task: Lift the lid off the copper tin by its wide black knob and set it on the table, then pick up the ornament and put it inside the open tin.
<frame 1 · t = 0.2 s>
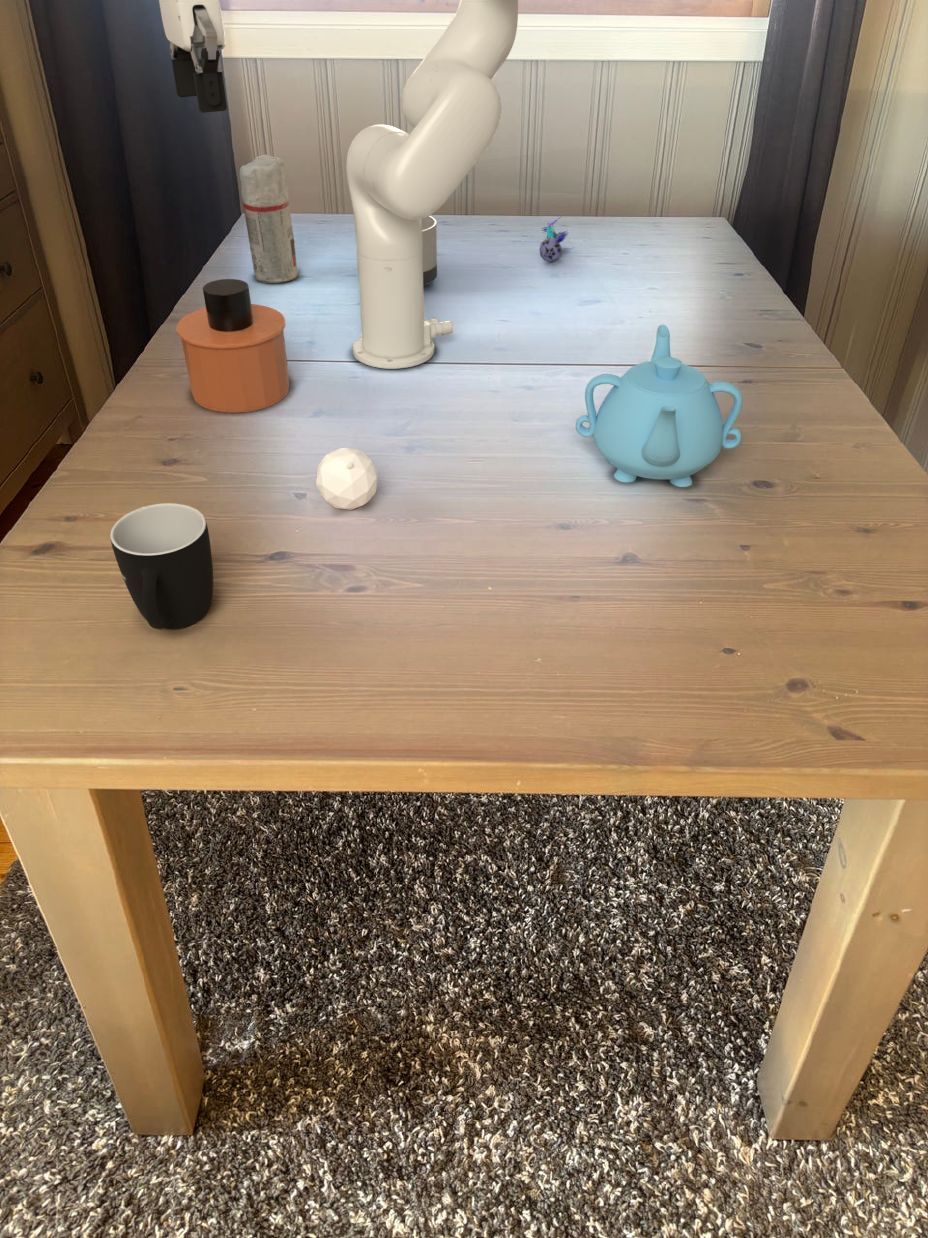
hand: (201, 103, 113), 36 cm above the table, tool pointing down, fingers open, 9 cm apart
spray can: (276, 277, 171), on the table
planter: (401, 283, 169), on the table
ornament: (349, 505, 112), on the table
teapot: (652, 465, 120), on the table
tin: (241, 390, 135), on the table
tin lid: (231, 326, 129), point 9 cm above the table, touching tin
figurine: (556, 256, 181), on the table
mug: (175, 621, 95), on the table
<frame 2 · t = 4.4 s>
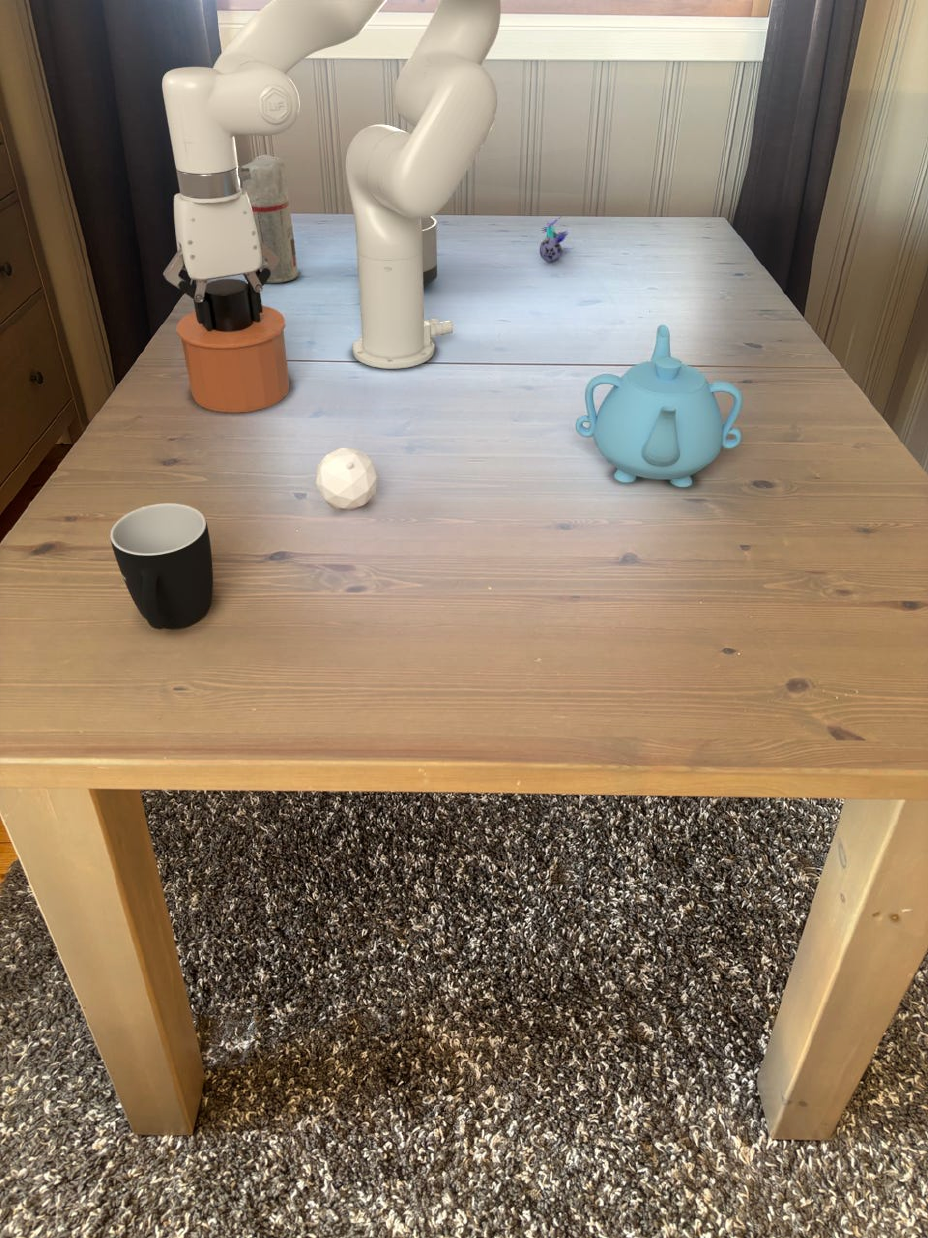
hand: (231, 321, 128), 10 cm above the table, tool pointing down, fingers closed on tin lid, 6 cm apart
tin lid: (231, 326, 129), point 9 cm above the table, touching gripper, tin
everything else where it was.
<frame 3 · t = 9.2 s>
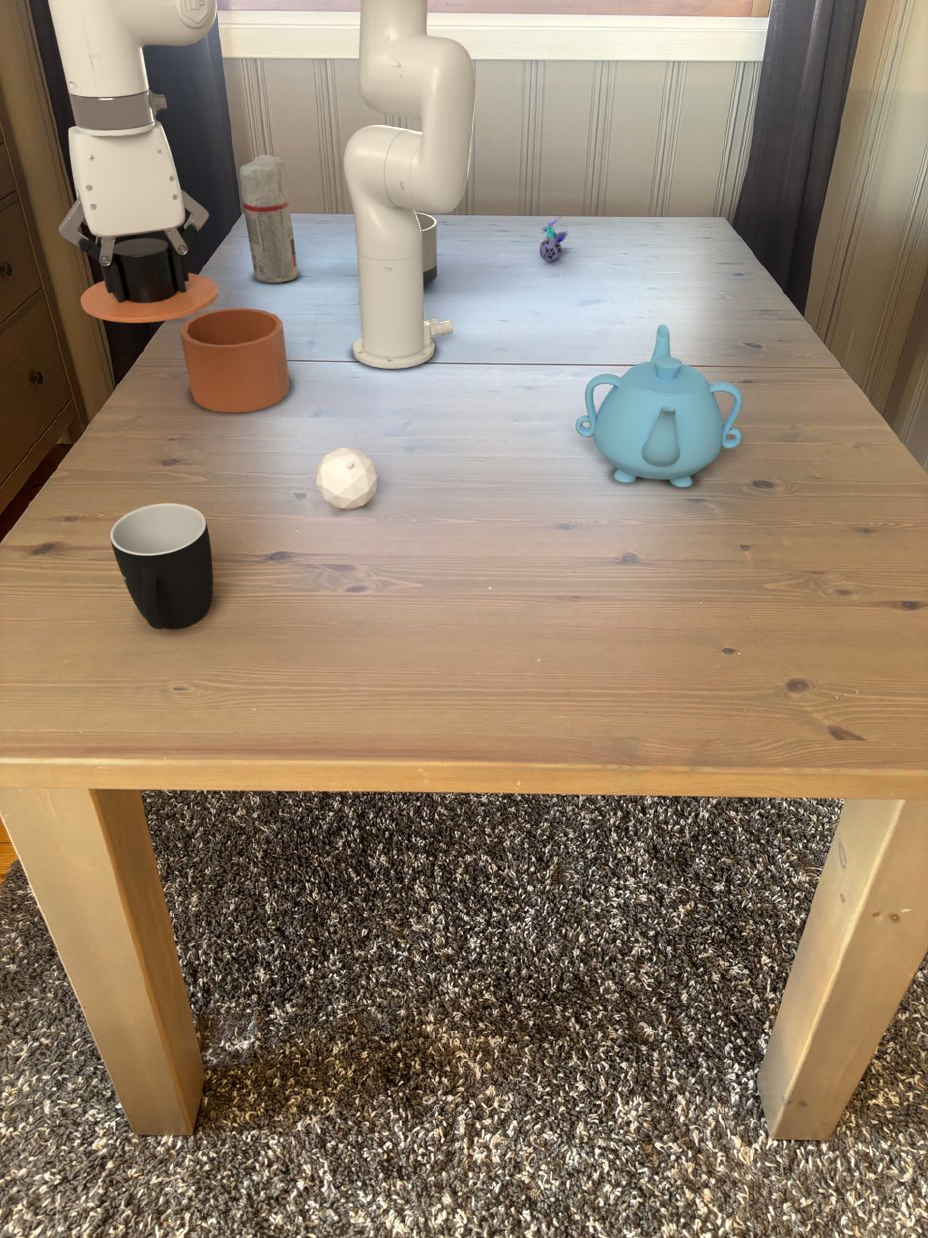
hand: (149, 291, 104), 22 cm above the table, tool pointing down, fingers closed on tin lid, 6 cm apart
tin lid: (150, 297, 104), point 22 cm above the table, touching gripper
everything else where it was.
when the fingers open (1 cm above the table, at t = 14.2 s): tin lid stays where it is, point 1 cm above the table.
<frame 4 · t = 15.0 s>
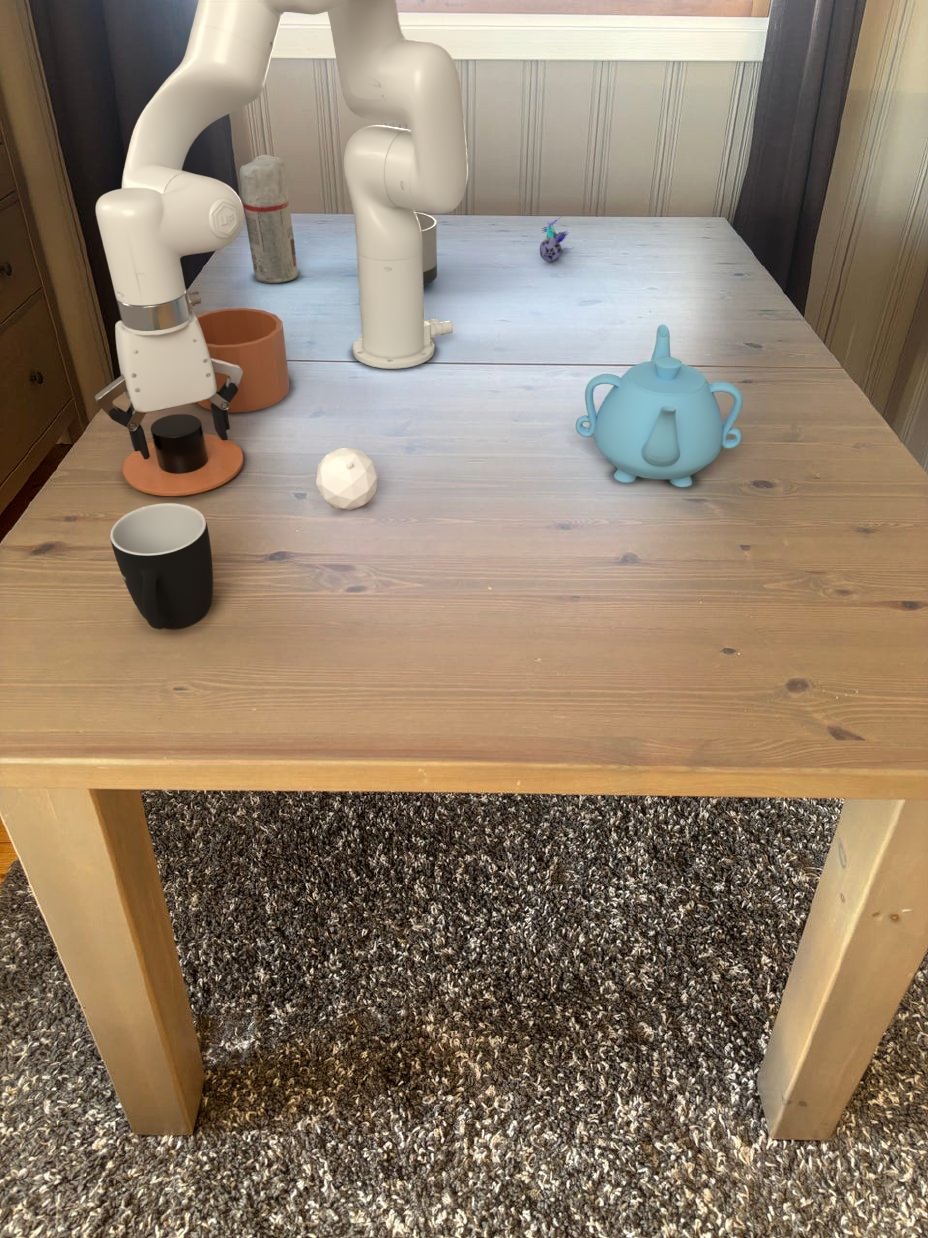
hand: (183, 444, 116), 3 cm above the table, tool pointing down, fingers open, 9 cm apart
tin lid: (184, 465, 117), point 1 cm above the table
everything else where it was.
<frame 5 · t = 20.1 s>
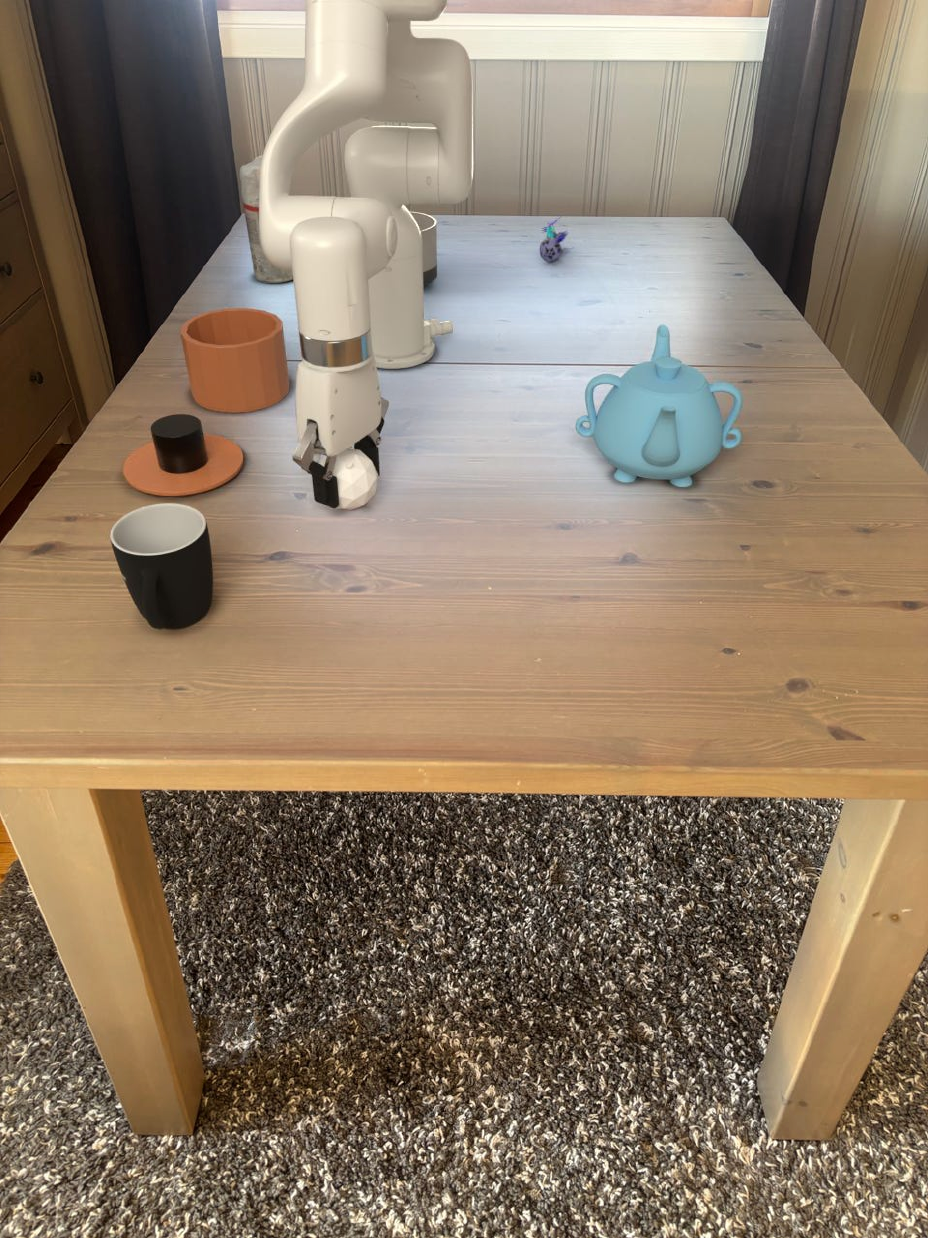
hand: (347, 487, 110), 2 cm above the table, tool pointing down, fingers closed on ornament, 7 cm apart
ornament: (349, 505, 112), on the table, touching gripper
everything else where it was.
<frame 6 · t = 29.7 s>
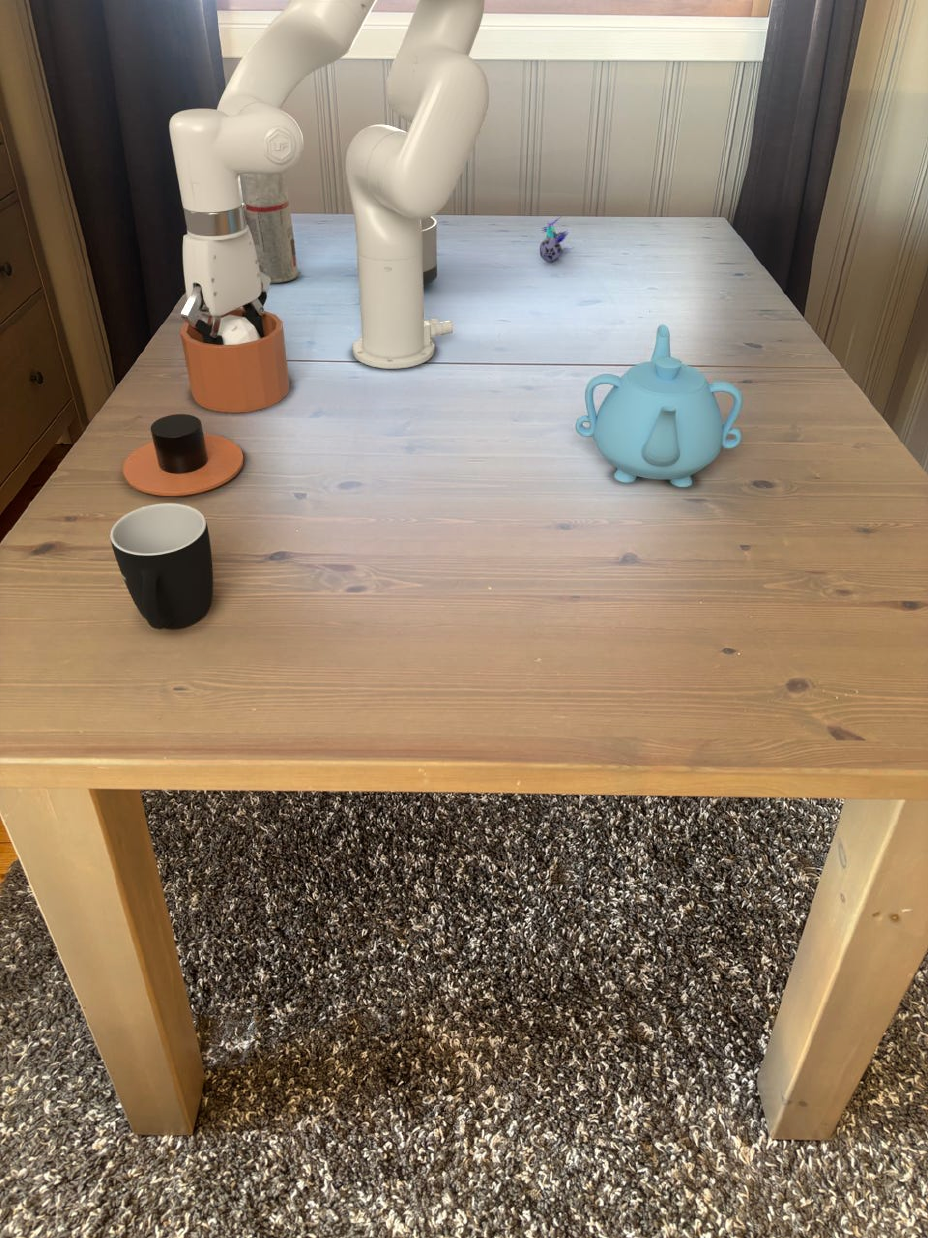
hand: (236, 350, 131), 6 cm above the table, tool pointing down, fingers closed on ornament, 7 cm apart
ornament: (238, 367, 133), point 4 cm above the table, touching gripper
everything else where it was.
when the fingers open (9 cm above the table, at t = 48.6 s): ornament drops 6 cm, resting on tin.
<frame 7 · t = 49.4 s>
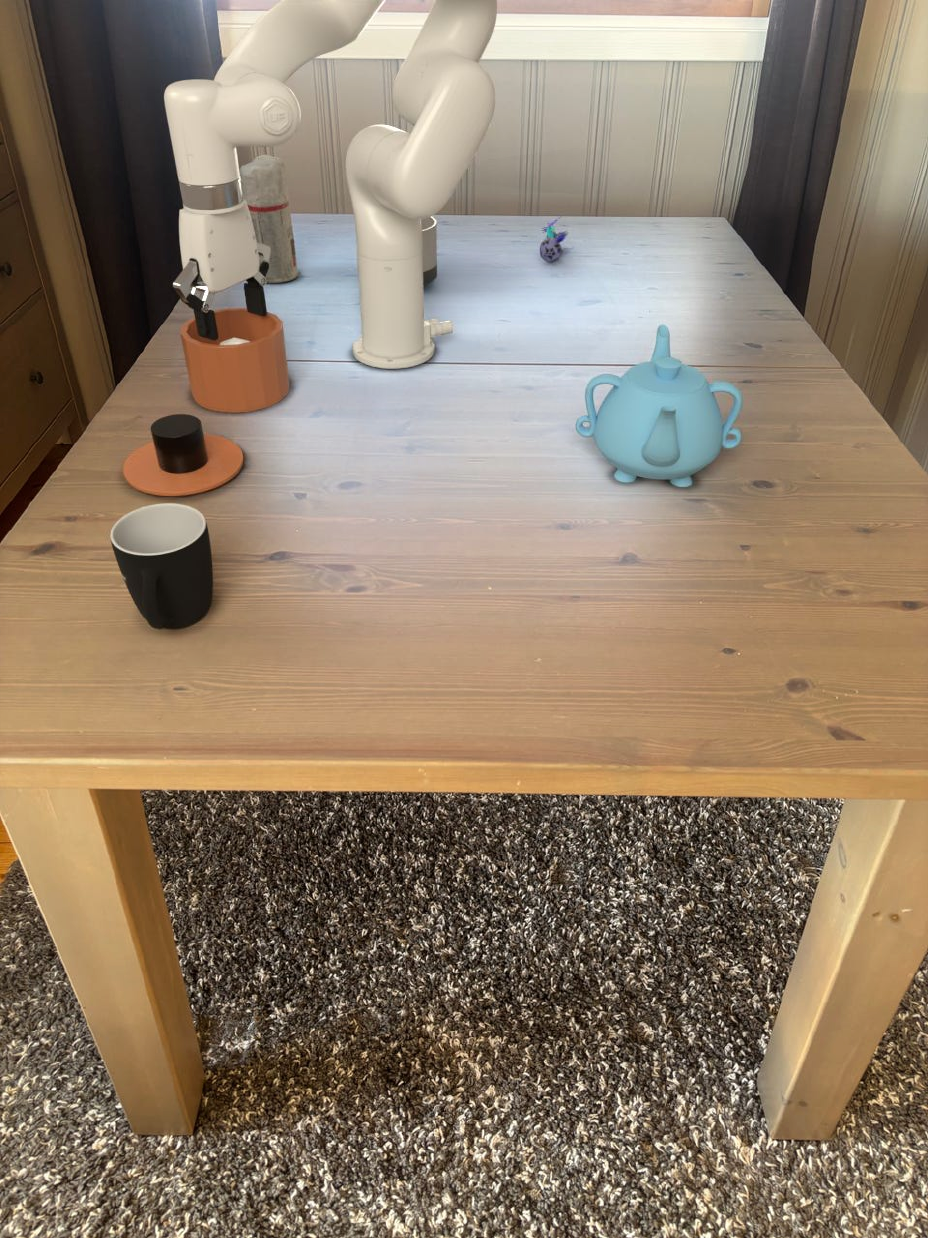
hand: (233, 325, 129), 10 cm above the table, tool pointing down, fingers open, 9 cm apart
ornament: (241, 388, 135), resting on tin
everything else where it was.
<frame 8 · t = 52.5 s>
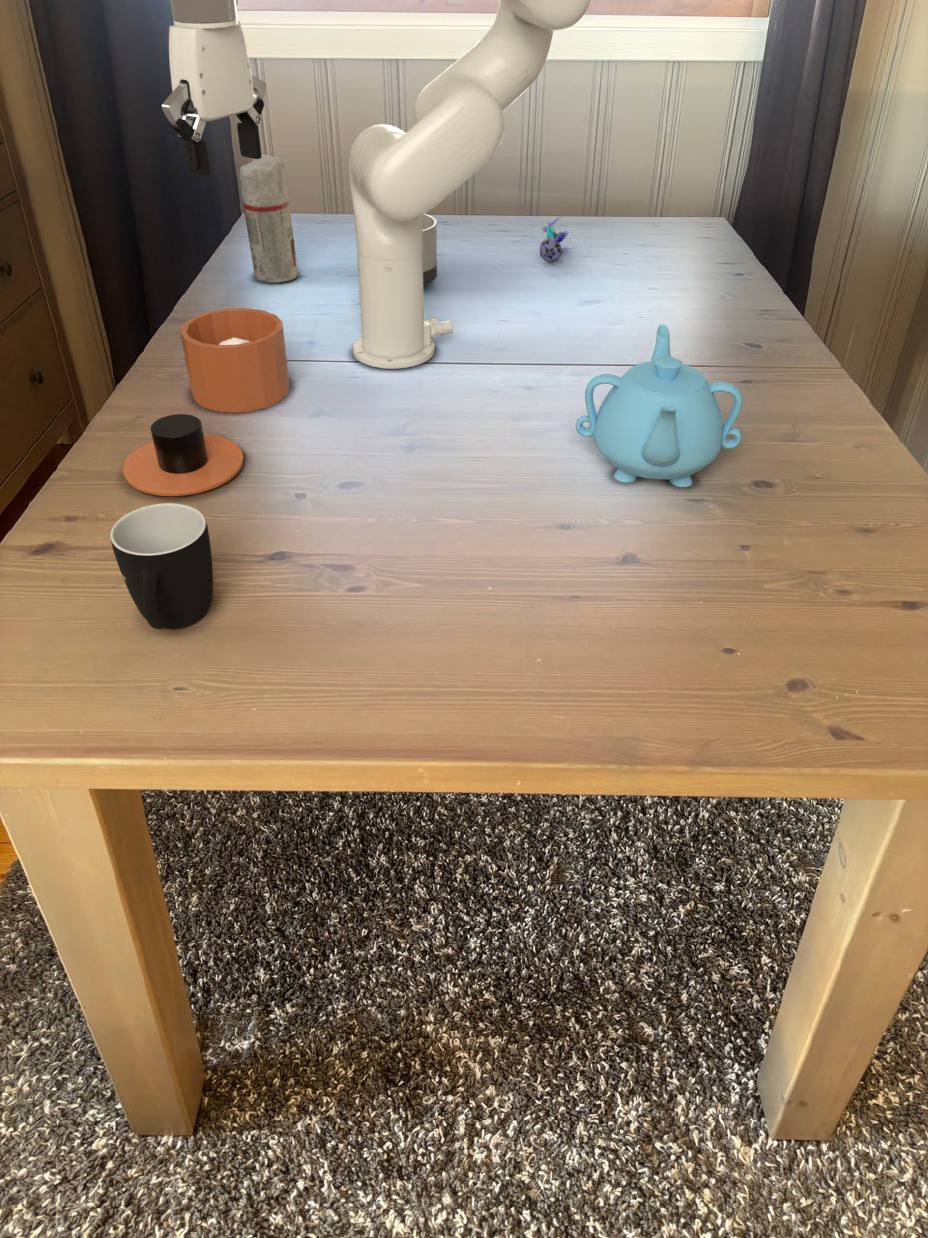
hand: (226, 165, 123), 28 cm above the table, tool pointing down, fingers open, 9 cm apart
nothing on the table moved.
at the end: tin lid inside the target area (0.1 cm from its centre), point 0.6 cm above the table; ornament inside the target area in the tin (0.0 cm from its centre), point 0.3 cm above the tin's base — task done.
